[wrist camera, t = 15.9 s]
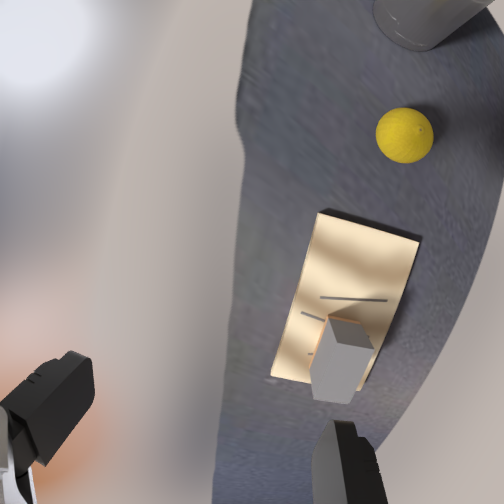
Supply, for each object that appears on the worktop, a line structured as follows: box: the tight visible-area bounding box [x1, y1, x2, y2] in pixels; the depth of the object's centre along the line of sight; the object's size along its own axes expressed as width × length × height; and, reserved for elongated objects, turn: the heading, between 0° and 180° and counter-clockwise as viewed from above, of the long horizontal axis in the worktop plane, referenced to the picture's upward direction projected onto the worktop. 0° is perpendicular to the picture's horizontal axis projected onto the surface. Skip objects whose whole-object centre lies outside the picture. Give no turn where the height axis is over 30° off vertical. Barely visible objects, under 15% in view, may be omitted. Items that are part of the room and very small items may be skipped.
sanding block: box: [309, 315, 375, 404], centre depth 31 cm, size 7×4×6 cm, turn 167°
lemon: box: [376, 108, 433, 163], centre depth 26 cm, size 6×6×8 cm
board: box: [271, 213, 419, 391], centre depth 34 cm, size 20×12×1 cm, turn 167°
